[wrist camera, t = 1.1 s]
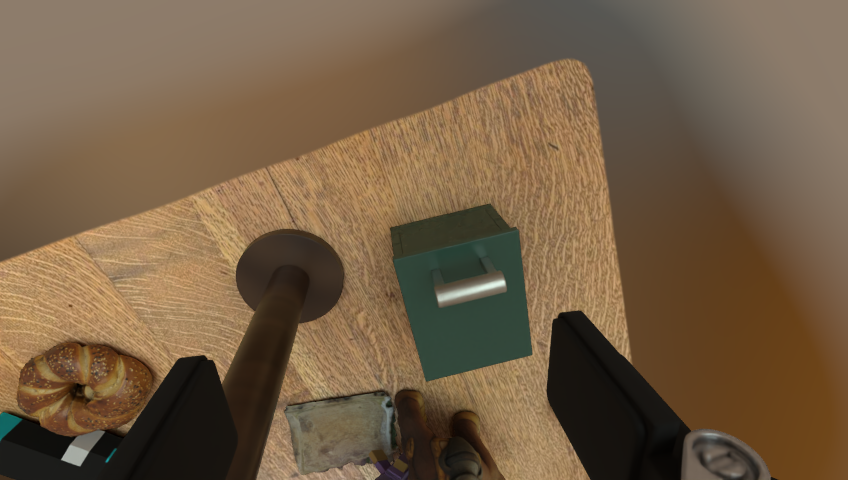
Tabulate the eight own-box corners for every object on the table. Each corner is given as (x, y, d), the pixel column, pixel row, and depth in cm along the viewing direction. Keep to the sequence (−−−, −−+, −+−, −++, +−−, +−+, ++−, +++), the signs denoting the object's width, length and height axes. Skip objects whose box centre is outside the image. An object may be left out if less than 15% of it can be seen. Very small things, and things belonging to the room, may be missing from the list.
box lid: (392, 256, 31) (395, 288, 27) (515, 226, 31) (539, 253, 27) (424, 376, 37) (432, 419, 32) (530, 350, 37) (551, 389, 32)
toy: (-24, 425, 37) (182, 498, 43) (21, 387, 42) (202, 458, 48) (-56, 489, 40) (143, 550, 45) (-9, 446, 44) (166, 507, 50)
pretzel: (138, 329, 40) (116, 354, 36) (172, 409, 44) (155, 437, 41) (9, 343, 39) (-25, 369, 35) (57, 423, 43) (31, 453, 40)
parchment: (391, 392, 46) (391, 386, 47) (277, 410, 45) (279, 403, 46) (402, 462, 51) (401, 455, 52) (300, 480, 50) (301, 472, 51)
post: (247, 217, 36) (-31, 572, 11) (354, 243, 39) (324, 584, 13) (232, 306, 40) (-5, 729, 15) (331, 325, 42) (273, 716, 17)
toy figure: (362, 441, 43) (332, 484, 42) (421, 497, 40) (390, 546, 39) (397, 430, 54) (374, 465, 53) (446, 474, 50) (422, 511, 50)
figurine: (472, 457, 54) (507, 591, 40) (373, 425, 49) (374, 564, 35) (513, 410, 51) (565, 537, 37) (412, 371, 46) (429, 500, 33)
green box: (390, 227, 39) (394, 264, 32) (490, 203, 39) (516, 235, 32) (416, 325, 44) (424, 376, 37) (504, 303, 44) (529, 349, 37)
